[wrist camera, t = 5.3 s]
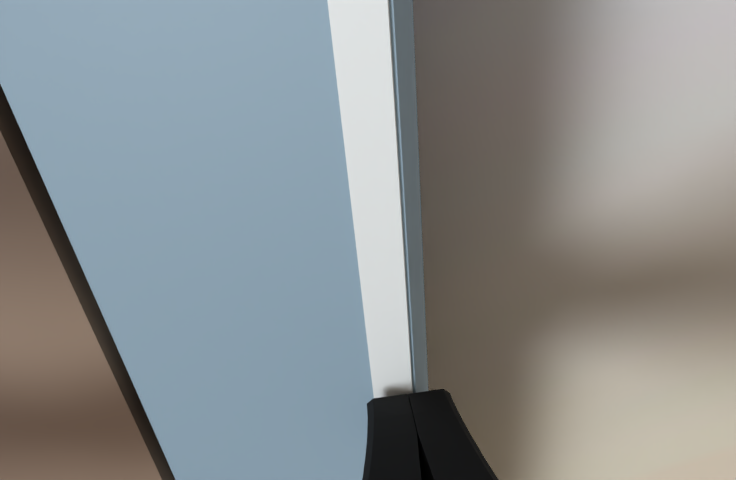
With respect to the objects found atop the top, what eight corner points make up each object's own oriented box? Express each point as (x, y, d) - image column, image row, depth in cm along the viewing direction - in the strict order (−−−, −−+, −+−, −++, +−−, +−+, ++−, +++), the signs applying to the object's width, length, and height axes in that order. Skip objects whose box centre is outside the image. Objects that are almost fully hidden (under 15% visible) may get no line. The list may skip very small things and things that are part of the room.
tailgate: (248, 575, 19) (438, 624, 17) (232, 613, 18) (431, 667, 16) (-65, -237, 7) (401, -317, 6) (-149, -244, 7) (371, -340, 5)
